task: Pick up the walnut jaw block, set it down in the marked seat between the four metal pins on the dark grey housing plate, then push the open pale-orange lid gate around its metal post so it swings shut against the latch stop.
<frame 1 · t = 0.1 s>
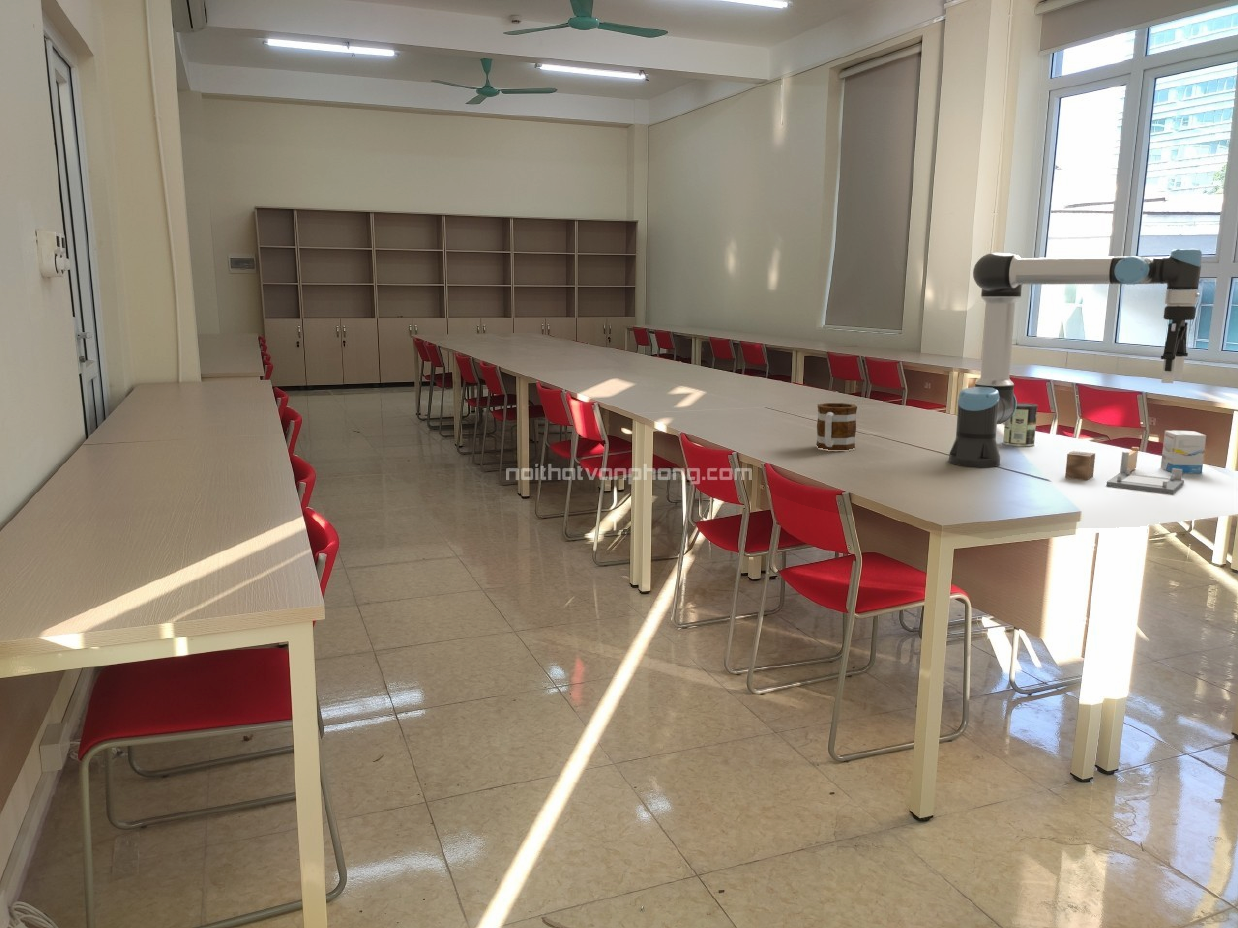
hand: (1171, 381, 255), 28 cm above the table, fingers open, 13 cm apart
lid gate: (1130, 460, 267), point 3 cm above the table, hinge at 90.0°
coffee can: (1018, 444, 314), on the table
mug: (833, 450, 305), on the table
housing: (1145, 484, 250), on the table
walnut jaw block: (1079, 477, 260), on the table
ink box: (1180, 471, 269), on the table
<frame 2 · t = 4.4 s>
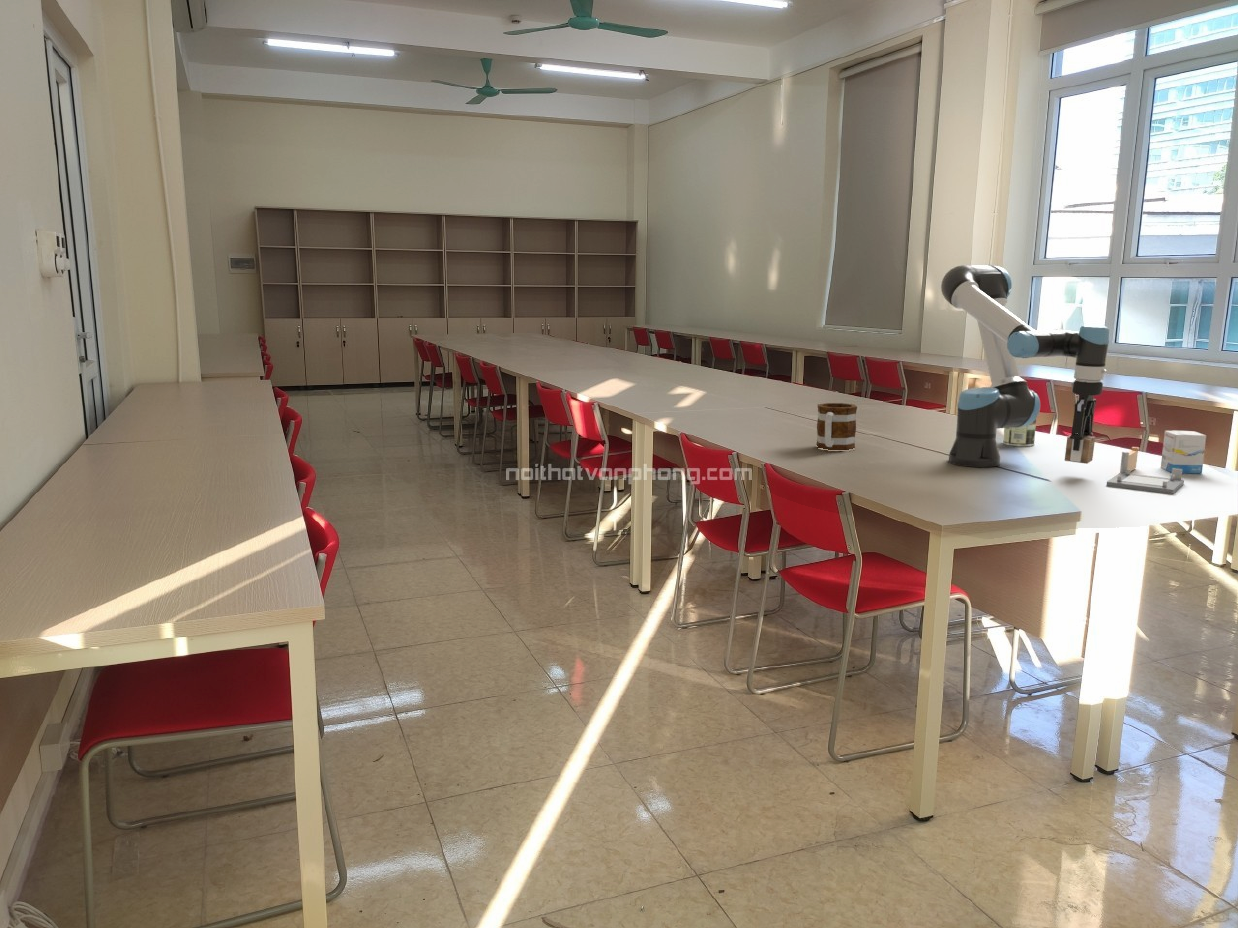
hand: (1078, 459, 260), 5 cm above the table, fingers closed on walnut jaw block, 6 cm apart
walnut jaw block: (1078, 460, 260), point 5 cm above the table, touching gripper
everything else where it was.
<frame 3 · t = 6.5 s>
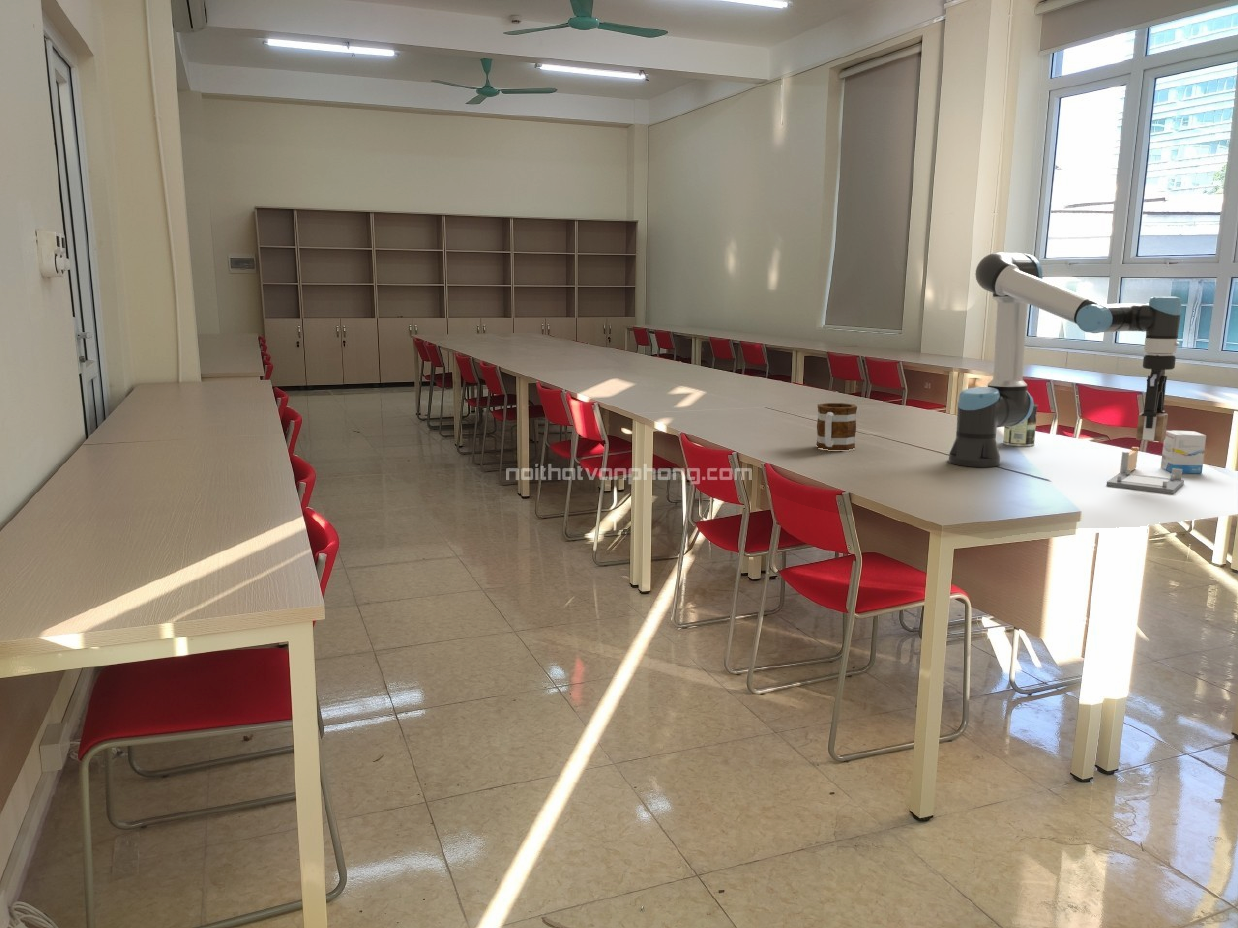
hand: (1150, 438, 247), 13 cm above the table, fingers closed on walnut jaw block, 6 cm apart
walnut jaw block: (1150, 439, 247), point 13 cm above the table, touching gripper
everything else where it was.
when the fingers open (2 cm above the table, at t = 8.7 s): walnut jaw block stays where it is, resting on housing.
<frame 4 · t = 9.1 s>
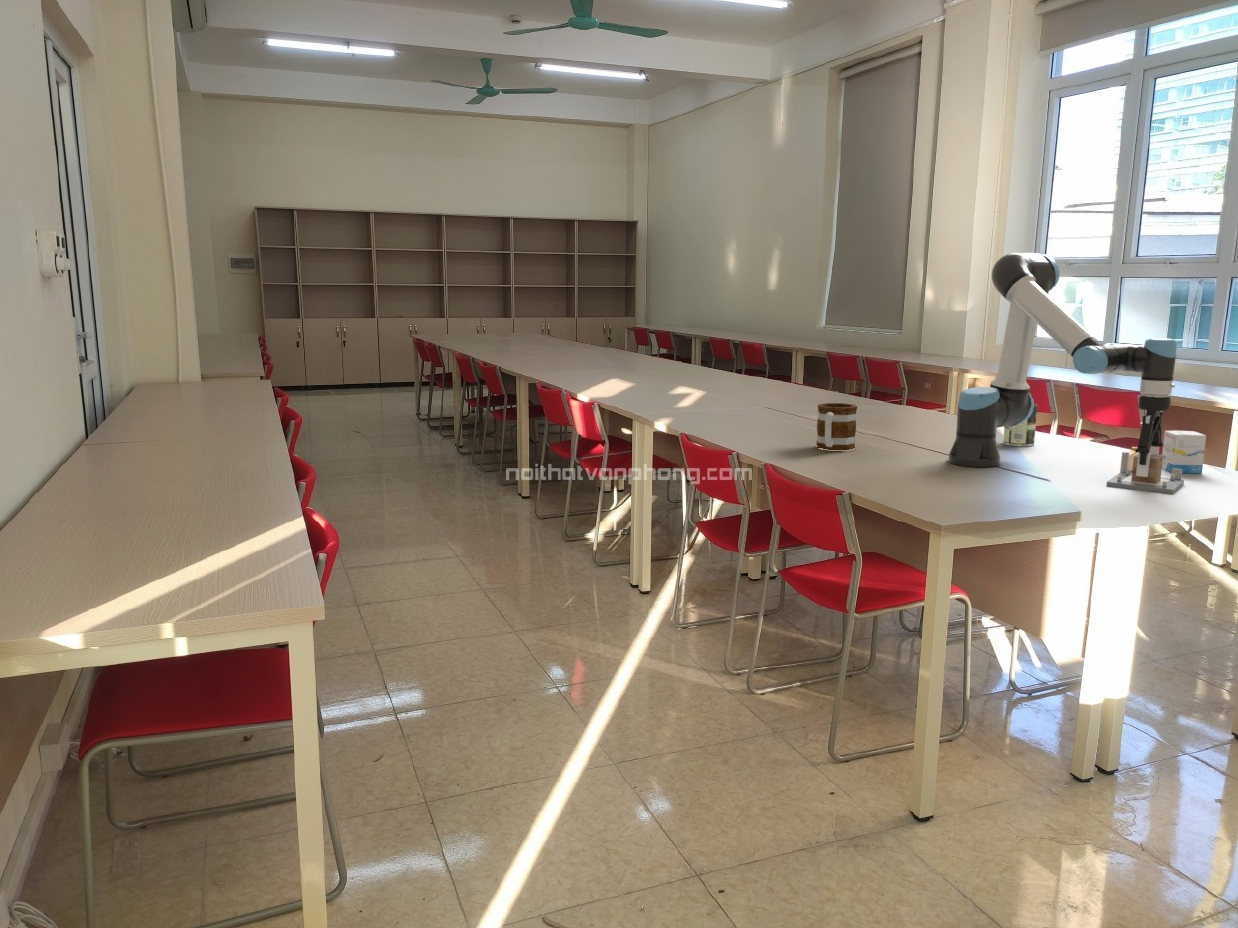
hand: (1146, 472, 249), 4 cm above the table, fingers open, 12 cm apart
walnut jaw block: (1145, 480, 249), point 1 cm above the table, touching housing
everything else where it was.
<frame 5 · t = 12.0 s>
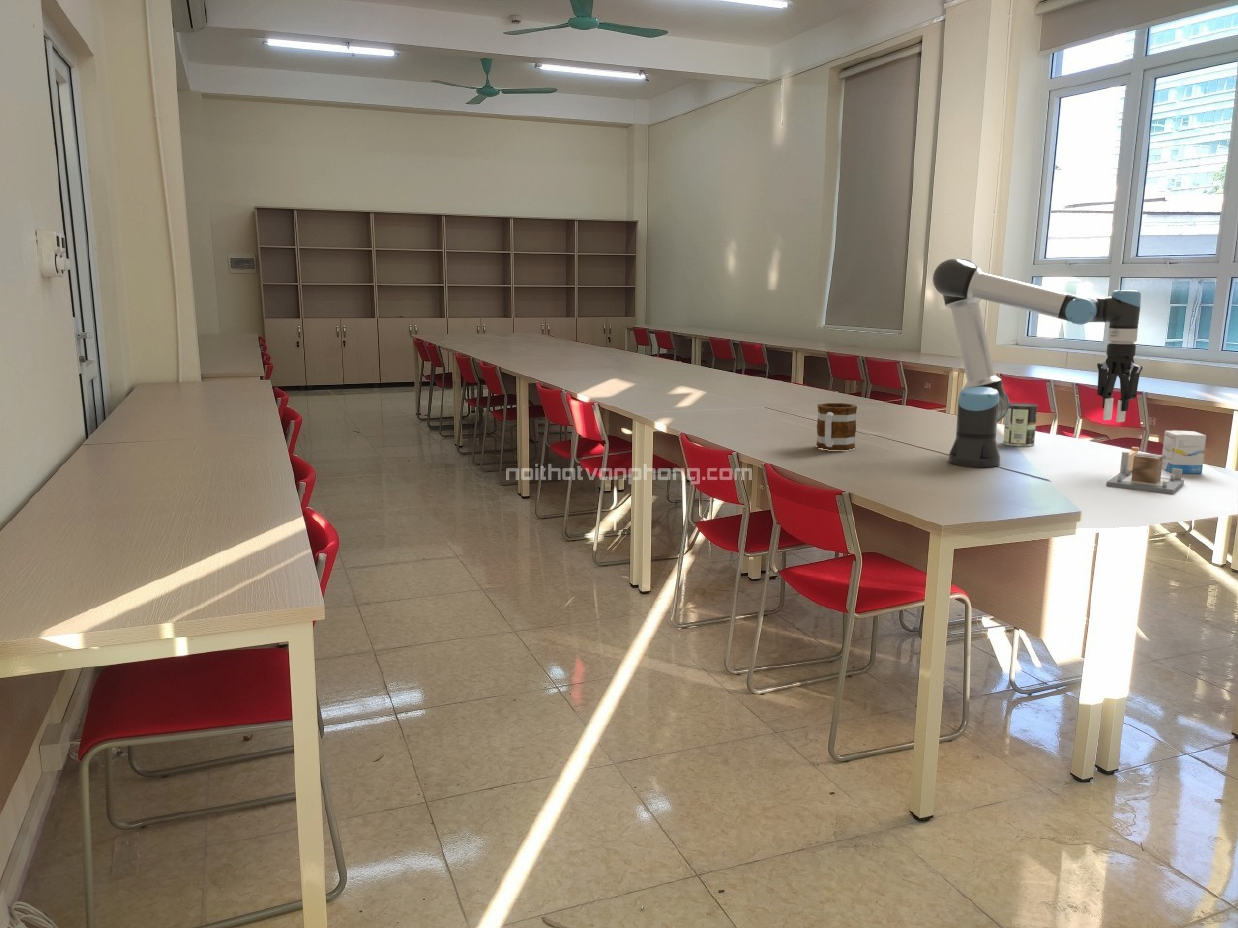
hand: (1113, 420, 270), 15 cm above the table, fingers open, 4 cm apart
nothing on the table moved.
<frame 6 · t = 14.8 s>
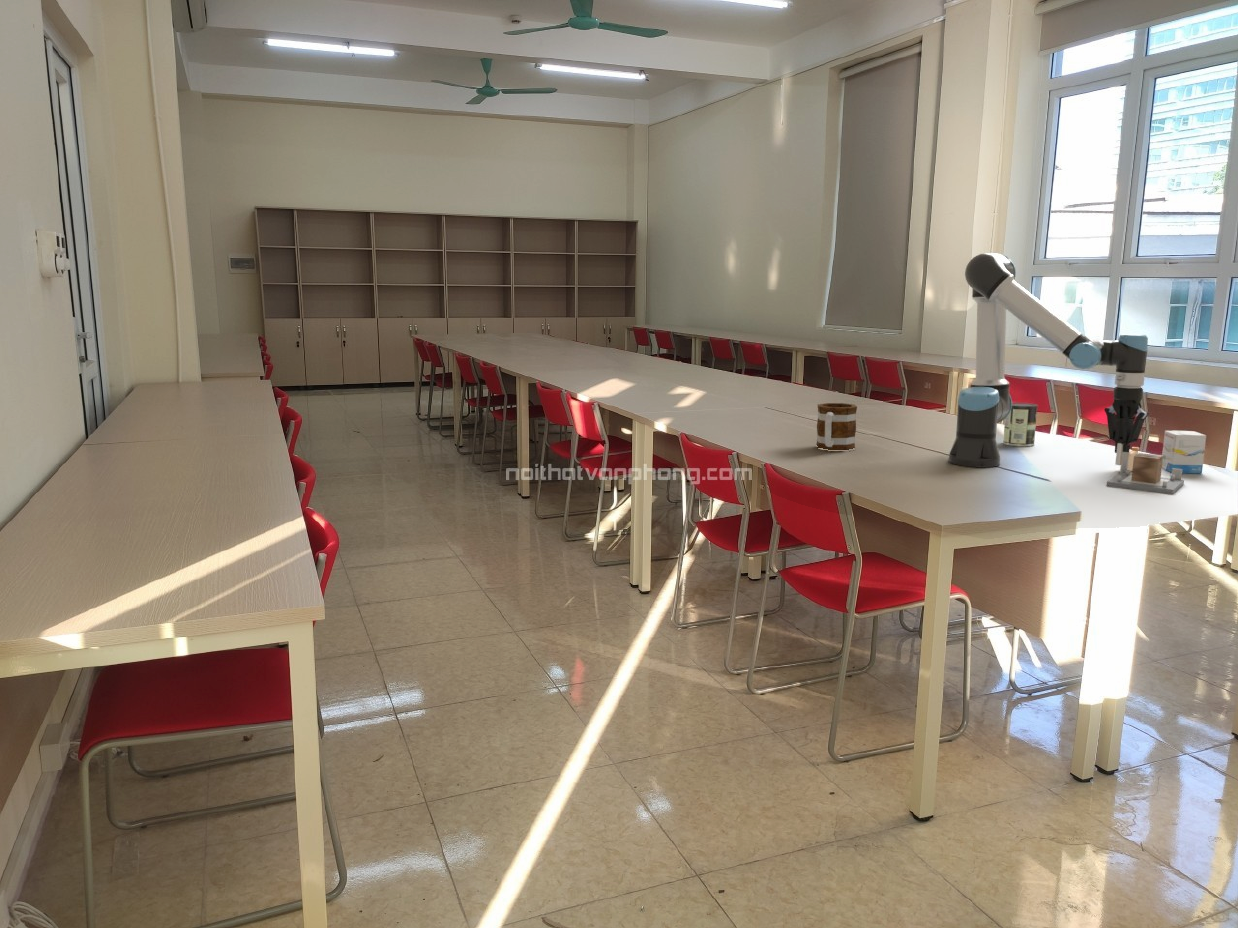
hand: (1120, 464, 269), 2 cm above the table, fingers closed
lid gate: (1130, 460, 267), point 3 cm above the table, hinge at 89.9°, touching gripper
everything else where it was.
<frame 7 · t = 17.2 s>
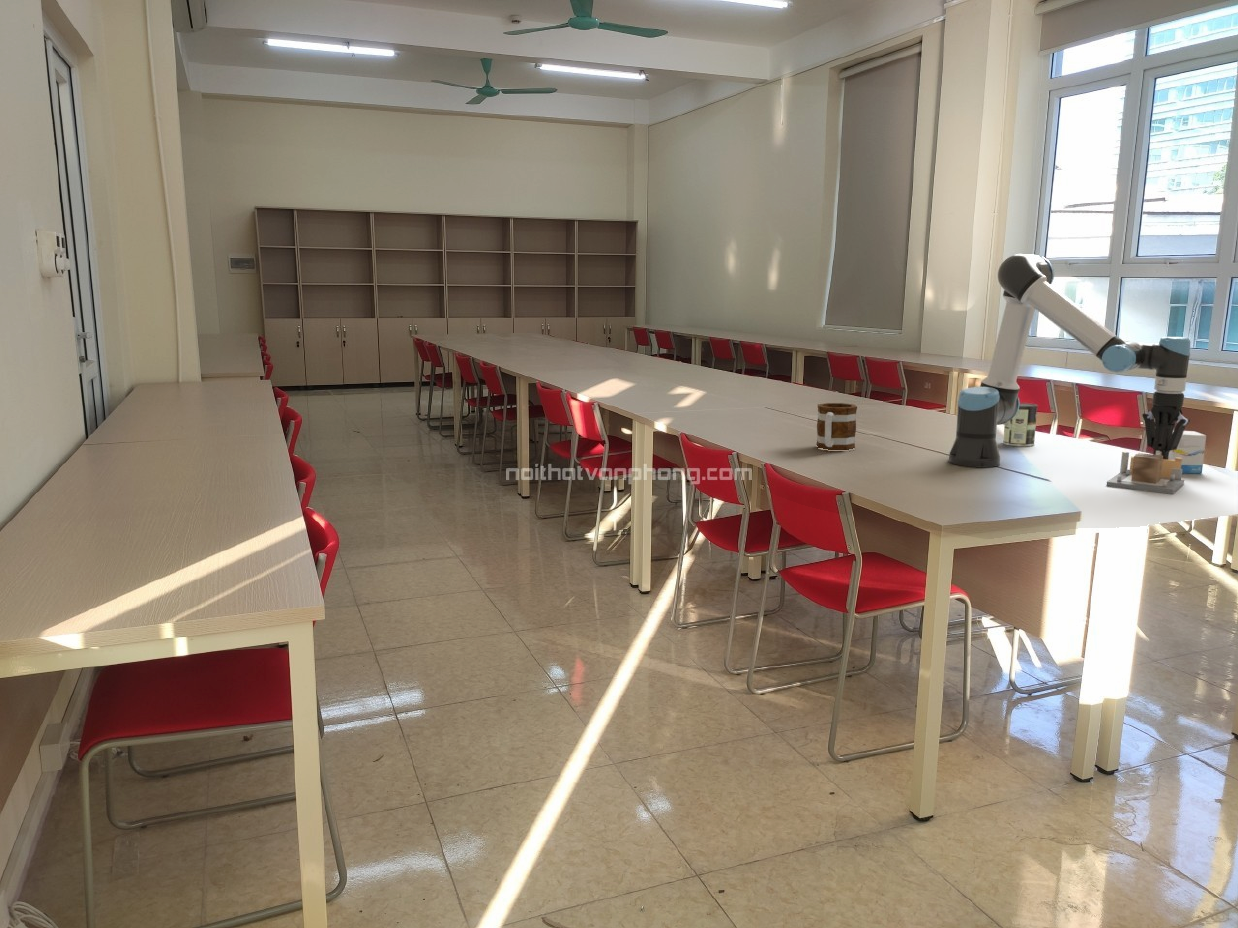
hand: (1158, 472, 259), 1 cm above the table, fingers closed
lid gate: (1155, 466, 257), point 3 cm above the table, hinge at 9.1°, touching gripper
everything else where it was.
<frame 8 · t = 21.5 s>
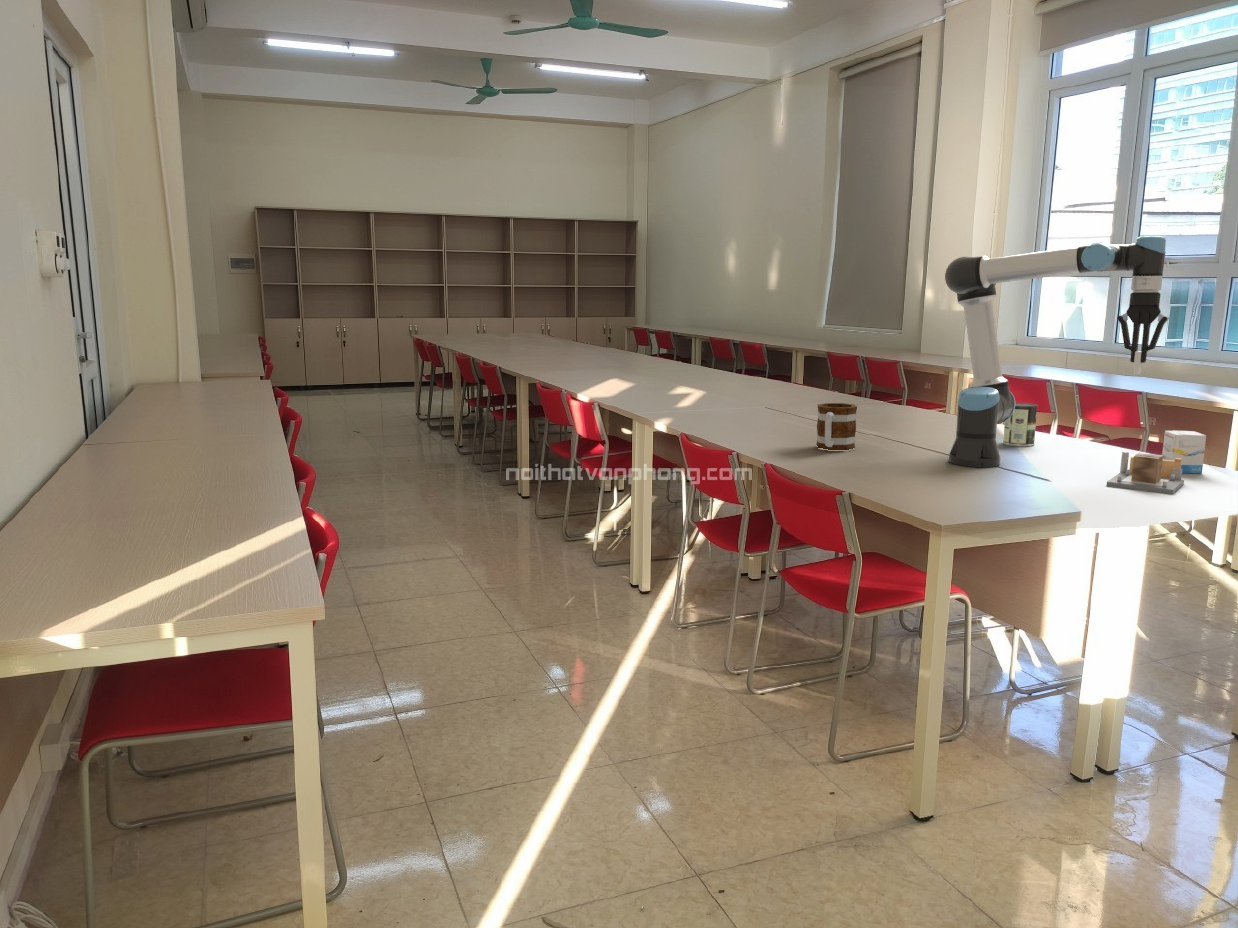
hand: (1136, 373, 261), 29 cm above the table, fingers closed
lid gate: (1154, 467, 256), point 3 cm above the table, hinge at 4.2°
everything else where it was.
at the end: walnut jaw block inside the target area on the housing (0.1 cm from its centre), point 1.3 cm above the housing's base; walnut jaw block tilted 0°; lid gate at +4° (first picture: +90°) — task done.
